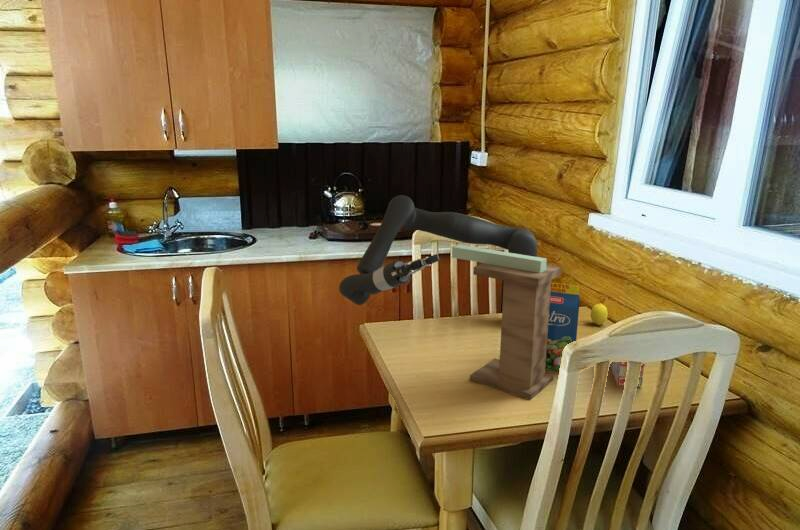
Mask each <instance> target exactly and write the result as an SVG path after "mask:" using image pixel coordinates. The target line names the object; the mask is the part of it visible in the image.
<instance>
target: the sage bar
mask: <svg viewBox="0 0 800 530" xmlns="http://www.w3.org/2000/svg"><path fill="white" fill-rule="evenodd" d="M451 252H452V253H451V257H452V258H454V259H459V260H464V261H471V262H476V263H480V264H483V263H487V264H492V265H498V266H504V267H509V268H515V269H521V270H526V271H532V272H538V273H541V272H543V271H545V270H546V265H547V258H545V257H539V256H537V257H534V256H527V255H521V254H515V253H508V251H500V250H495V249H490V248H489V249H488V248H482V247H476V246H469V245H464V244H457V245H455V246H452V247H451Z"/></svg>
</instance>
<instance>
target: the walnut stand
mask: <svg viewBox="0 0 800 530" xmlns="http://www.w3.org/2000/svg"><path fill="white" fill-rule="evenodd" d="M562 270H563V269H562V266H557V265H550V264H546V270H545V271H543V272H541V273H538V272H532V271H526V270H521V269H515V268H509V267H504V266H498V265H492V264H487V263H480V264H477V265H475V266H473V272H472V274H473V275H474V276H481V277H484V278H491V279H495V280H501V281H503V289H502V304H501V305H502V306H501V307H502V308H501V309H502V310H501V311H502V312H501V327H500V329H501V331H500V348H499V352H500V353H499V359H498V358H493V359H492V360H491V361H489V362H487V363H486V364H484V365H483V366H481V367H479V368H478V369H477V370H475V371H474V372H472V373H471V374H469V381H471V382H474V383H477V384H480V385H483V386H486V387H489V388H493V389H496V390H499V391H502V392H505V393H508V394H511V395H515V396H518V397H521V398H523V397H524V399H526V398H527V400H530V401H531V400H533V399H534V398H535V397H536V396H537V395H538V394H539V393H540V392H542V391H543V390H544V389H545V388H546V387H547V386H548V385H550V384H551V383H552V382H553V381H554V375H553V374H550V373H547V372H546V369H545V363H546V349H547V335H548V321H549V307H550V293H551V282H552V281H553V280H554V279H555V278H558V277H559V276H561V275H562ZM549 383H550V384H549Z"/></svg>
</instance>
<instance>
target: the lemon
mask: <svg viewBox="0 0 800 530" xmlns="http://www.w3.org/2000/svg"><path fill="white" fill-rule="evenodd" d="M608 315H609V314H608V308H607V307H606V306H605V305H604V304H602V303H601V302H600V303H597V304H595V305H593V306H592V308H591V310H590V318H591V321H592V322H593V323H594V324H595V325H597V326H600V325H602V324H604V323H605V322H606V321H607V320H608Z"/></svg>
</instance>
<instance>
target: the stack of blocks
mask: <svg viewBox="0 0 800 530" xmlns="http://www.w3.org/2000/svg"><path fill="white" fill-rule="evenodd" d="M609 367H610V369H612V370H611V372H612V375H613V378H614V380H615V383H617V384H616V386H617V387H624V382H625V377H626V372H627V362H612V363H611V364H610V365H609ZM644 368H645V364H642V366H641V371H640V377H639V384H638V387H640V386H641V388H642V385H643V379H644V378H643V376H644Z"/></svg>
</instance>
